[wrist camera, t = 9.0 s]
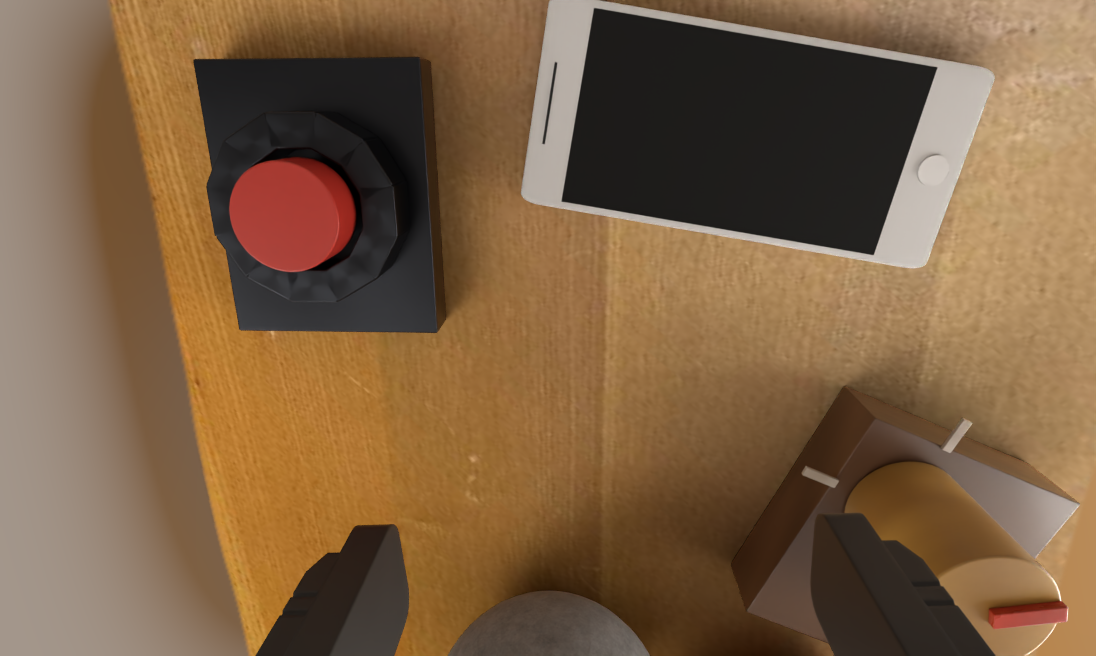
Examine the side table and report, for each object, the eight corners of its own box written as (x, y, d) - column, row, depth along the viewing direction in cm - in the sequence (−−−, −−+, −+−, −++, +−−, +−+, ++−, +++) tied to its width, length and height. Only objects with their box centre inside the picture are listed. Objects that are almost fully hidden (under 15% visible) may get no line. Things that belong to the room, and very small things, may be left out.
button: (247, 156, 22) (219, 160, 20) (351, 156, 21) (332, 160, 20) (263, 260, 23) (238, 272, 21) (362, 261, 22) (344, 273, 21)
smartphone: (913, 266, 25) (925, 272, 24) (521, 198, 24) (519, 201, 24) (984, 70, 22) (1000, 68, 21) (551, -5, 22) (550, -10, 21)
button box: (218, 62, 24) (159, 54, 20) (431, 60, 23) (405, 51, 20) (259, 317, 27) (213, 346, 23) (446, 320, 26) (426, 349, 23)
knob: (846, 562, 26) (917, 685, 20) (841, 468, 24) (916, 573, 19) (960, 549, 25) (1065, 670, 20) (961, 452, 24) (1074, 554, 18)
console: (833, 347, 26) (865, 377, 23) (1048, 439, 27) (1107, 479, 24) (705, 554, 29) (718, 604, 26) (898, 630, 30) (933, 686, 27)
